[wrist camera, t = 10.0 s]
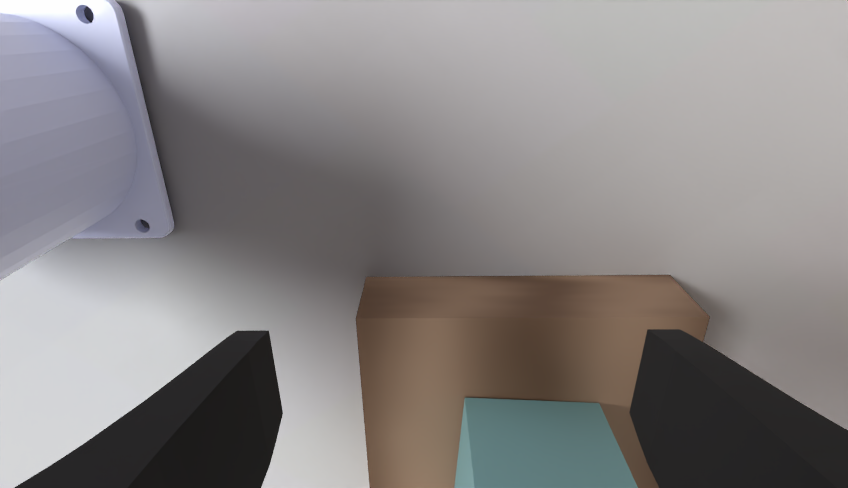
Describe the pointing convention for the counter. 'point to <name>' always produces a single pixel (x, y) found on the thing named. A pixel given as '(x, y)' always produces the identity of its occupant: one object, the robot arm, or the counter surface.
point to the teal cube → (538, 446)
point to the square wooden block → (501, 358)
